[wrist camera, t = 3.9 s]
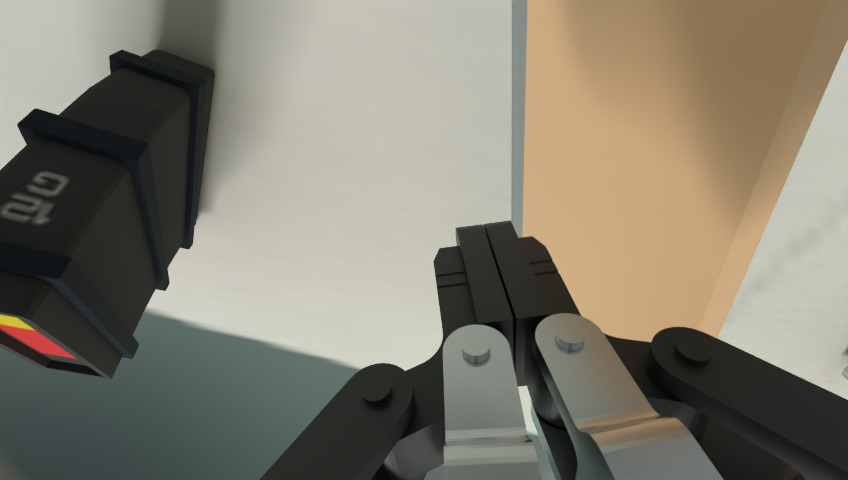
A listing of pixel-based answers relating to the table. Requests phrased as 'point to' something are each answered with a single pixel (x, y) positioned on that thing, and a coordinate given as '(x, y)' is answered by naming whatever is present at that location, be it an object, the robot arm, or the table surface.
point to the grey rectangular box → (518, 109)
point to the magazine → (100, 211)
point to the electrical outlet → (845, 373)
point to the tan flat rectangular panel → (666, 145)
